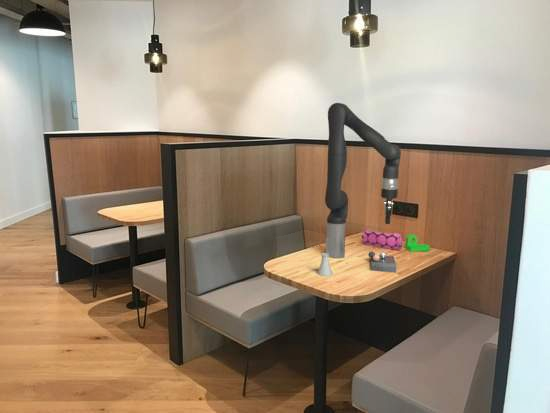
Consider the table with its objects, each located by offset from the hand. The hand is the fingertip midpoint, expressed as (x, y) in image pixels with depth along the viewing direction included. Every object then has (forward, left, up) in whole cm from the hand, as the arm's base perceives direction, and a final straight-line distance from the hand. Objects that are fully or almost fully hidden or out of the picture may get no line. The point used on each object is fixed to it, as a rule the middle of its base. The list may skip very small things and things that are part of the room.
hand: (387, 223), depth 208 cm
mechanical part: (+19, +31, -20) cm, 41 cm away
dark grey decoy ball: (-7, 0, -16) cm, 17 cm away
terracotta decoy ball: (-5, -5, -16) cm, 17 cm away
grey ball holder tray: (-1, -4, -20) cm, 20 cm away
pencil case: (0, +30, -20) cm, 37 cm away
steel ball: (-1, 0, -16) cm, 16 cm away
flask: (-27, -23, -20) cm, 41 cm away
